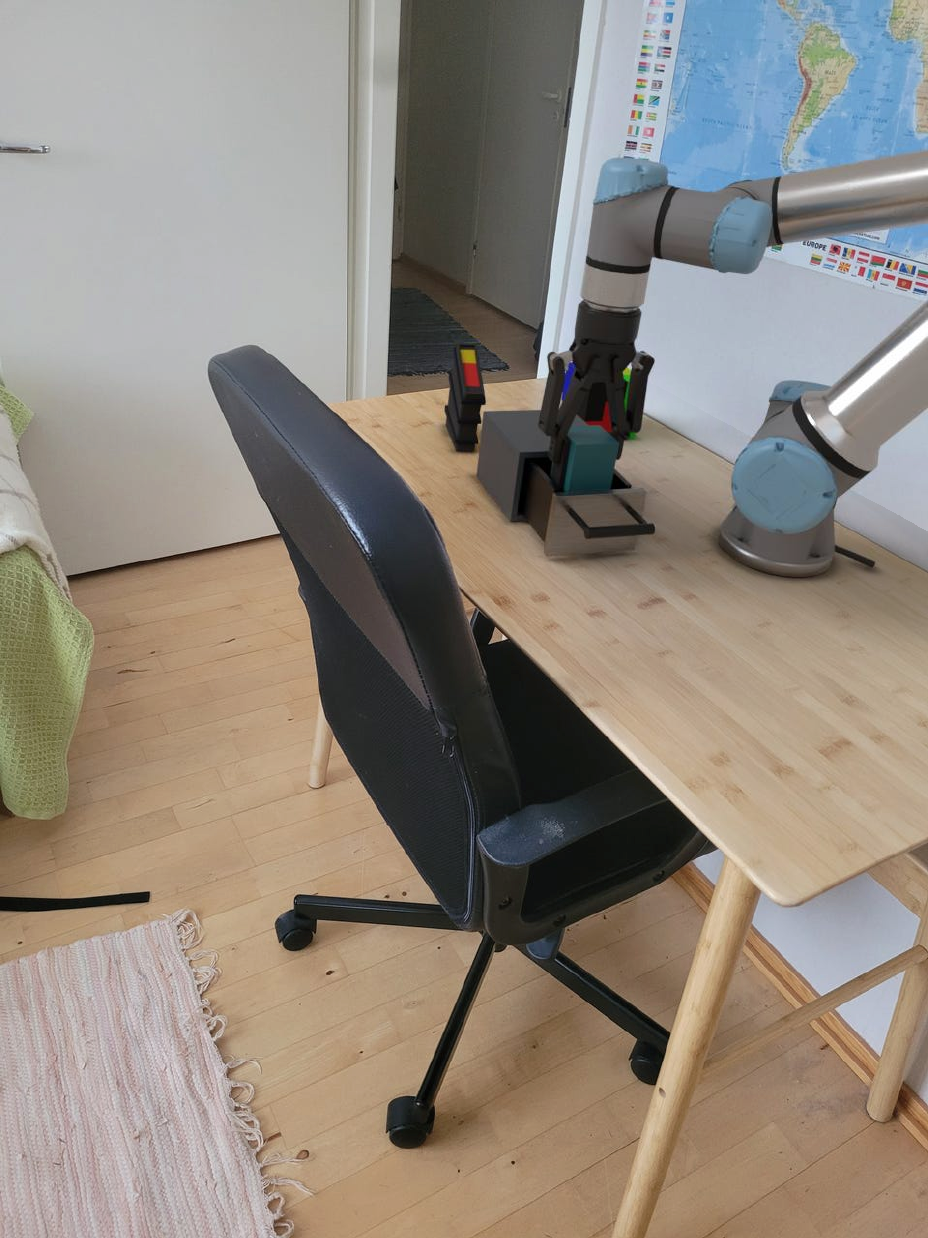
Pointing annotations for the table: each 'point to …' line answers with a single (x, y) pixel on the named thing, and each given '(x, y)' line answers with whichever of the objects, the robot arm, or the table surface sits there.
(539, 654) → the table surface
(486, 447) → the cabinet
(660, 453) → the table surface
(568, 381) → the puzzle toy
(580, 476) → the block
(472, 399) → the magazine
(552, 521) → the drawer
